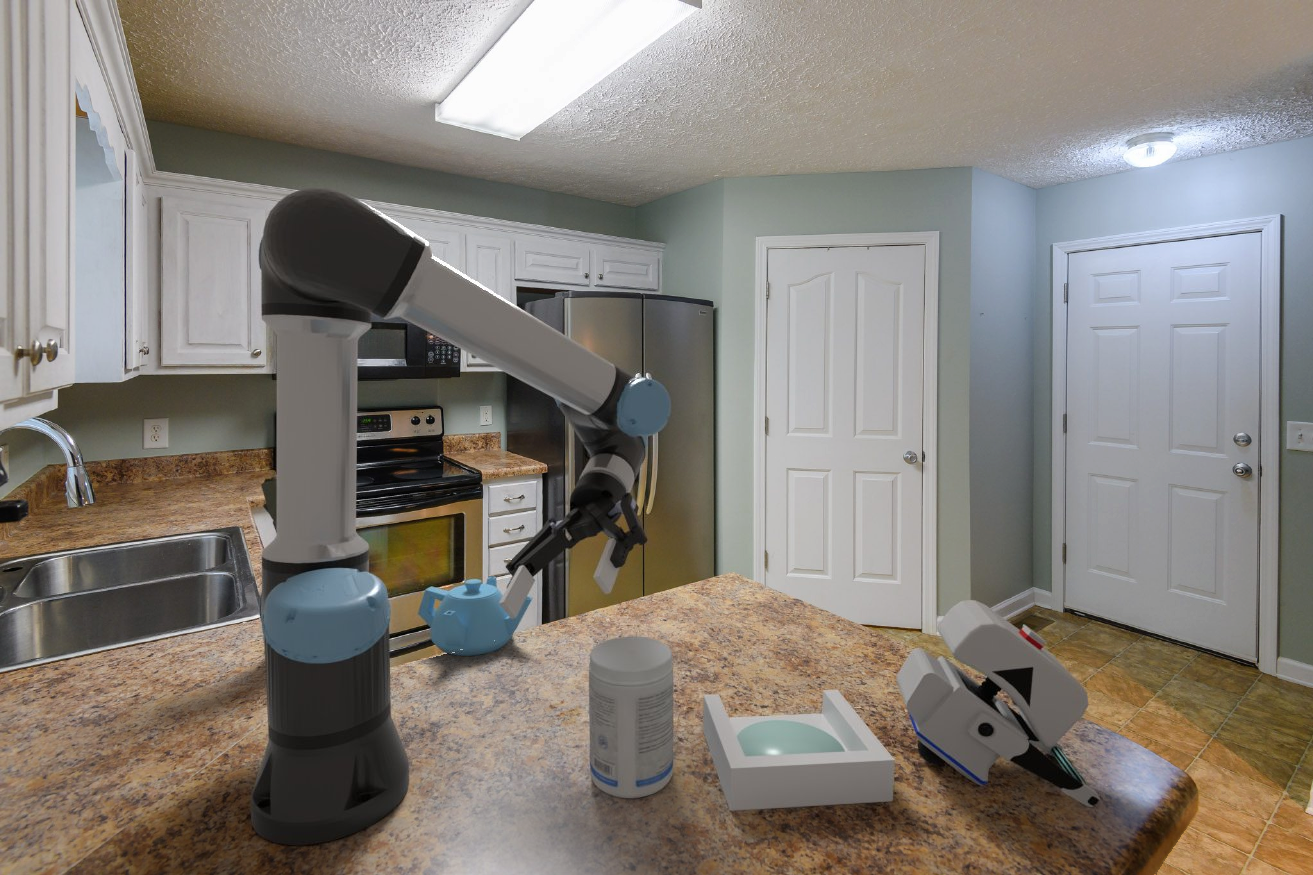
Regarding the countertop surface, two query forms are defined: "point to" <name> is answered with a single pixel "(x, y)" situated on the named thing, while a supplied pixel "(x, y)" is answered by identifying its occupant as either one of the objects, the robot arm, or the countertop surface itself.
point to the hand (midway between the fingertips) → (552, 598)
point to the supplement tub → (631, 716)
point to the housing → (797, 757)
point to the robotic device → (994, 701)
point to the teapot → (469, 618)
